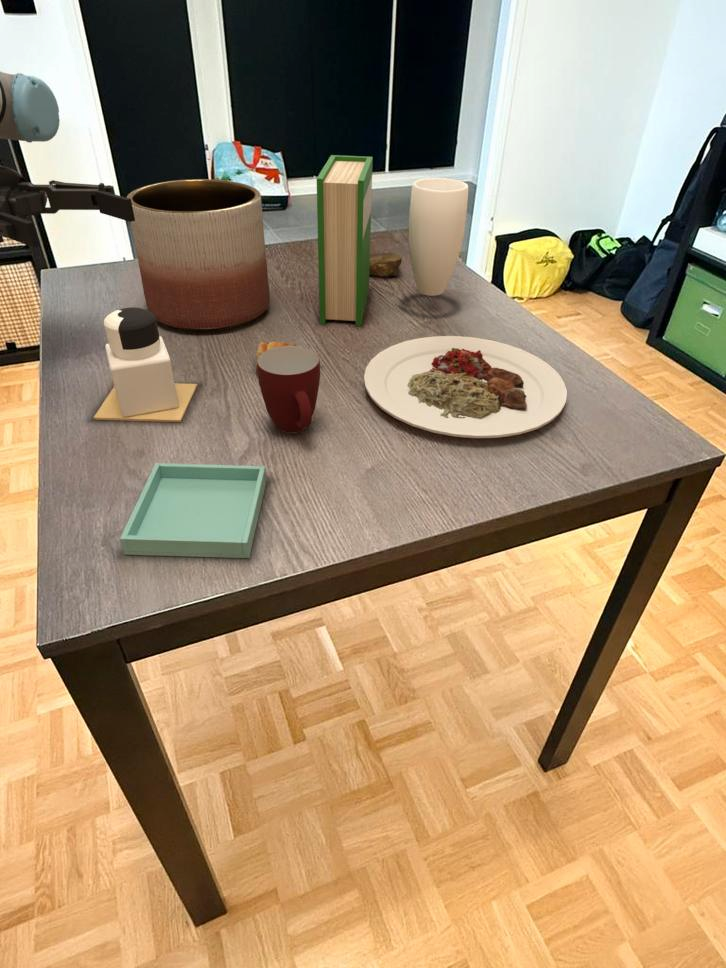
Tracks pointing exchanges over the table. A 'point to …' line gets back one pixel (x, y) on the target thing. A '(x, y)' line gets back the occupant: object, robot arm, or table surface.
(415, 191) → the cup
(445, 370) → the plated food
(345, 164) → the hardback book
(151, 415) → the mat
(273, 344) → the pastry
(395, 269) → the decorative stone
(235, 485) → the tray
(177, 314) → the planter
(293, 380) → the mug
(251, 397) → the table surface
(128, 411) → the container
